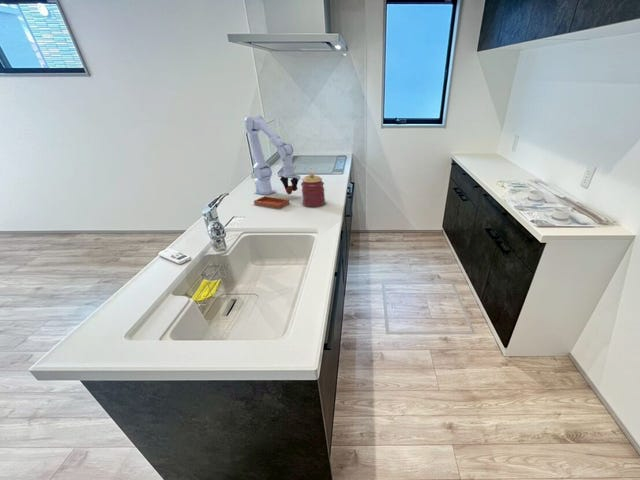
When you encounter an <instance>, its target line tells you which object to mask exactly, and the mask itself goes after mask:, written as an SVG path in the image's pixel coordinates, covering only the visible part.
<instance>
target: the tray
mask: <svg viewBox="0 0 640 480" xmlns="http://www.w3.org/2000/svg"><path fill="white" fill-rule="evenodd" d="M253 204H254V206H260V207H266V208H272V209H276V210H277V209H278V210H280V209H283V208H284V207H286V206H288V205H290V200H289V199H285V198H279V197H273V196H268V195H264V196H262V197H259V198H257V199H255V200H253Z"/></svg>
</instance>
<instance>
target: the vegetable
mask: <svg viewBox="0 0 640 480" xmlns="http://www.w3.org/2000/svg"><path fill="white" fill-rule="evenodd" d="M298 189H299V188H298V187H297V188H296V191H298ZM285 192H286V194H287V195H291V194H292V193H293V192H294V191H293V186H292V184H291V185H288V187H287V188H286V190H285Z"/></svg>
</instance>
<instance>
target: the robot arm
mask: <svg viewBox="0 0 640 480" xmlns="http://www.w3.org/2000/svg"><path fill="white" fill-rule="evenodd" d="M244 126H245V129H246V133H247V136H248V139H249V143H250V146H251V151H252V154H253V158H254V161H255V164H254V166H253V176H254V177H255V180H254V186H255V191H256V192H255V194H260V195H264V196H268V195H270V194H273V193H275V192H276V190H273V189H272V182H271V178H272V175H273V170H272V169H271V167H270V164H269V163H268V162H266V160H265V158H264V152H263V149H262V146H261V142H260V141H261V140H260V138H259V133H260V131H262V132H263V133H264V134H265V135H266V136H267V137H268V138H269V139H270V143H271V144H272V145H273V147H275V148H276V149H277V150H278V151H277V152H278V154H279V156H280V159H281V163H282V171H283V172H279V173H277V177H278V178H279V180H280V181H281V184H282V185H283V187H284V190H285V191H286V188H287V187H288V186H289V179H290V183H291V185H292V186H293V191H292V192H296V191H297V190H296V188H298V183H299V181H300V180H301V175H298V174H295V172H294V165H293V164H294V163H293V158H292V155H293V153H294V148H293V146H292V144H290V143H287V142H285V141H284V139H282V137H281V135H280V134H276V133H275V132H274V131H273V130H272V129H271V128H270V127H269V125H268V123H267V121H266V118H264V117H263V116H262V115H257V116H247V117H245V120H244Z"/></svg>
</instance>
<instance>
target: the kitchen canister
mask: <svg viewBox="0 0 640 480" xmlns="http://www.w3.org/2000/svg"><path fill="white" fill-rule="evenodd" d="M301 181H302V182H301V183H300V185H301V194H302V203H303V205H304V206H305V207H307V208H318V207H322V206H324V205H325V204H326V196H325V187H324V185H325V182H324V181H323V178H322V177H320V175H315V174H314V173H313V172H310V173H309V175H306V176H304V177H302V179H301Z"/></svg>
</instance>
